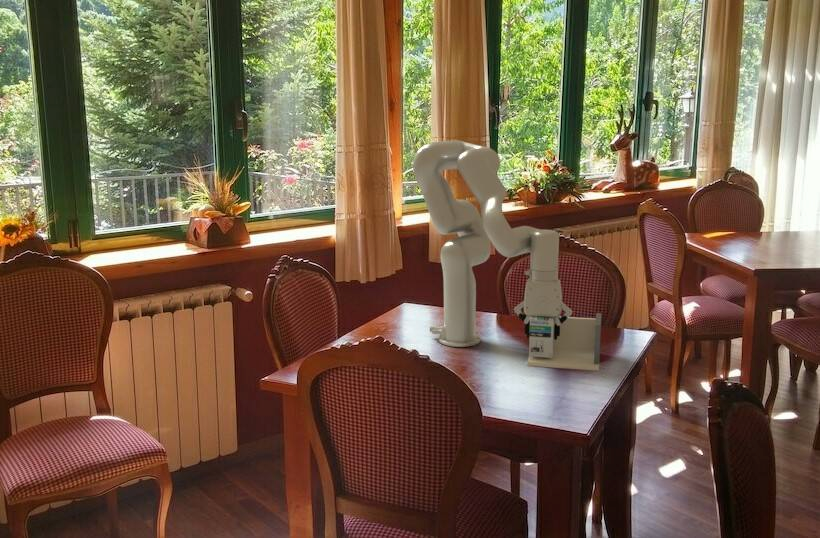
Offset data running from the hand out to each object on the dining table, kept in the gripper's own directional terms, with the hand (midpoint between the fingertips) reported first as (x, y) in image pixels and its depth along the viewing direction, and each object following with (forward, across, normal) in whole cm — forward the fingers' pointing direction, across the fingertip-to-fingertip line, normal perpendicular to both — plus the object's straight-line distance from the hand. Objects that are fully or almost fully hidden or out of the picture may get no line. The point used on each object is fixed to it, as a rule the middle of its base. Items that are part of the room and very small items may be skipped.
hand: (542, 336), depth 222 cm
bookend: (+5, +15, 0) cm, 16 cm away
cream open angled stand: (+6, +6, +1) cm, 9 cm away
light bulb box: (+5, 0, 0) cm, 5 cm away
